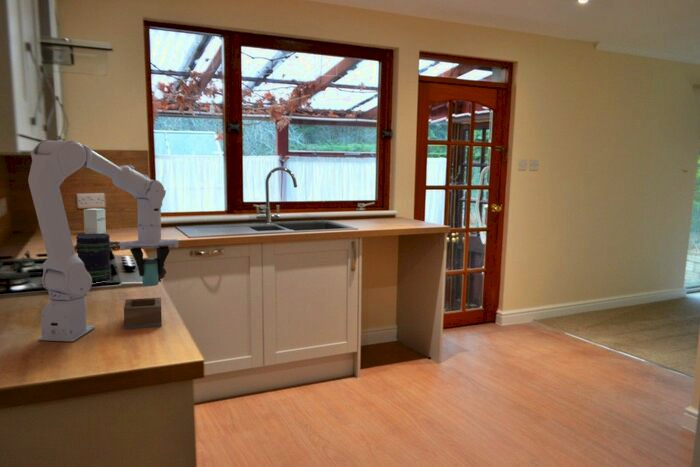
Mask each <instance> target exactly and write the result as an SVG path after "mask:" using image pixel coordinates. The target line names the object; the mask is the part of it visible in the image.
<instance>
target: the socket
mask: <svg viewBox="0 0 700 467" xmlns="http://www.w3.org/2000/svg"><path fill="white" fill-rule="evenodd" d="M162 319H163V318H162V297H149V298H145V297H144V298H132V299H131V298H130V299H129V298H128V299H125V302H124V306H123V320H124V321H123V324H124V327H123V328H124V330H130V329H131V330H132V329H144V328H145V329H146V328H157V327H162V326H163V324H162V321H163V320H162Z"/></svg>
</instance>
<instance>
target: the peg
mask: <svg viewBox="0 0 700 467" xmlns="http://www.w3.org/2000/svg"><path fill="white" fill-rule="evenodd" d="M141 277H142V278H141V279H142V286H144V287H155V286H158V285H159V279H158V258H157V257H152V256H151V257H143V276H141Z"/></svg>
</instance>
